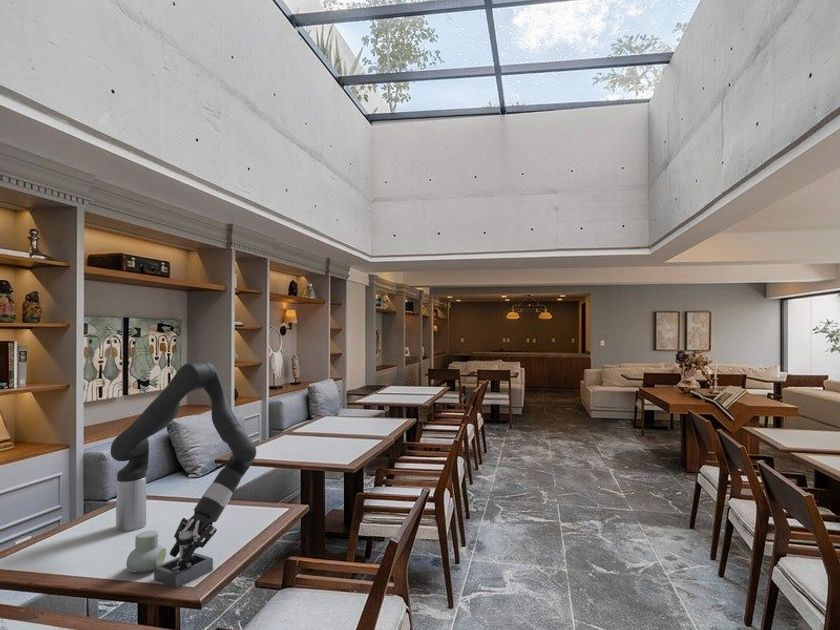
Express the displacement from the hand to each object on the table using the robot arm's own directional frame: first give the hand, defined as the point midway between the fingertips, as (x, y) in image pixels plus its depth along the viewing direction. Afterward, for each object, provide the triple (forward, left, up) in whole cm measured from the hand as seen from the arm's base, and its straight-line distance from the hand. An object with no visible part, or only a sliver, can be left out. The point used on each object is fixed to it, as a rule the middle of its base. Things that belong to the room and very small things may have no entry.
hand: (178, 557), depth 146 cm
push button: (0, +2, -4) cm, 5 cm away
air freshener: (-14, -1, -6) cm, 15 cm away
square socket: (0, +2, -6) cm, 6 cm away
